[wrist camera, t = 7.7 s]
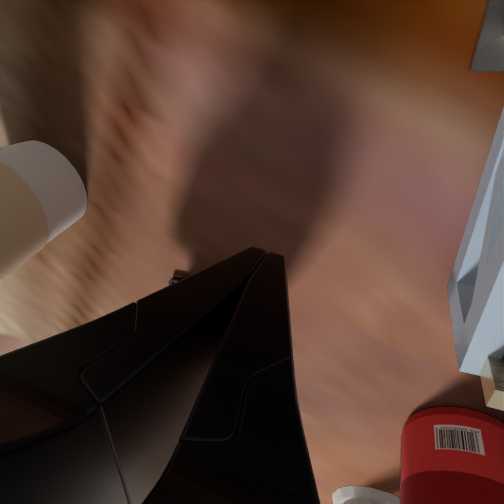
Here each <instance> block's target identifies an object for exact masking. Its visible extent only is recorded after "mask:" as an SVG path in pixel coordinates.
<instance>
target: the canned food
mask: <svg viewBox="0 0 504 504" xmlns="http://www.w3.org/2000/svg"><path fill="white" fill-rule="evenodd" d="M400 504H504V424H503V423H502V422H500V421H499V420H497V419H495V418H493V417H491V416H489V415H487V414H484V413H481V412H478V411H475V410H471V409H466V408H460V407H434V408H429V409H425V410H422V411H419V412H417V413H415V414H413V415H412V416H411V417H410V418H409V419H408V420H407V422H406V423H405V426H404V428H403V431H402V435H401V463H400Z"/></svg>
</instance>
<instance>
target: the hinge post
mask: <svg viewBox="0 0 504 504" xmlns="http://www.w3.org/2000/svg"><path fill="white" fill-rule="evenodd" d="M469 70H470V71H504V0H487V3H486V7H485V10H484V14H483V18H482V21H481V25H480V29H479V32H478V36H477V40H476V43H475V47H474V51H473V54H472V58H471V62H470V65H469Z"/></svg>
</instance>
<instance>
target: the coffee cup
mask: <svg viewBox="0 0 504 504" xmlns="http://www.w3.org/2000/svg"><path fill="white" fill-rule="evenodd" d="M86 208H87V194H86V190H85V187H84V184H83V182H82V180H81V178H80V176H79V174H78V172H77V171H76V169H75V168H74V166H73V165H72V164H71V163H70V162H69V160H68V159H67V158H66V157H65V156H64V155H62V154H61V153H60V152H59V151H58V150H56V149H55V148H53V147H52V146H50V145H48V144H46V143H43V142H40V141H26V142H21V143H17V144H13V145H8V146H4V147H0V281H2V280H3V279H4V278H5V277H7V276H8V275H9V274H11V273H12V272H13V271H14V270H16V269H17V268H18V267H20V266H21V265H22V264H23V263H25V262H26V261H27V260H29V259H30V258H31V257H32V256H34V255H35V254H36V253H37V252H39V251H40V250H41V249H43V248H44V247H45V245H46V244H47V243H48V242H49V241H51V240H52V239H53V238H55V237H56V236H57V235H59V234H60V233H61V232H63V231H64V230H65V229H66V228H68V227H69V226H70V225H72V224H73V223H74V222H76V221H77V220H78V219H80V218H81V217H82V216H83V215H84V213H85V211H86Z"/></svg>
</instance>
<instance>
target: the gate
mask: <svg viewBox="0 0 504 504" xmlns="http://www.w3.org/2000/svg"><path fill="white" fill-rule="evenodd" d="M447 291H448V298H449V305H450V311H451V318H452V325H453V332H454V339H455V346H456V353H457V360H458V367H459V371H461V372H466V373H470V374H475V375H479V376H480V373H479V372H480V370H481V368H482V366H483V364H484V362H485V360H486V358H487V356H489V357H494V358H498V359H502V357H503V355H504V107H503V110H502V114H501V117H500V120H499V123H498V126H497V130H496V133H495V136H494V139H493V142H492V146H491V149H490V152H489V155H488V158H487V162H486V165H485V168H484V171H483V174H482V178H481V181H480V184H479V187H478V190H477V193H476V197H475V200H474V203H473V206H472V209H471V213H470V216H469V219H468V222H467V225H466V229H465V232H464V235H463V238H462V241H461V245H460V248H459V251H458V254H457V257H456V261H455V264H454V267H453V270H452V273H451V276H450V280H449V283H448V286H447Z"/></svg>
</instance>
